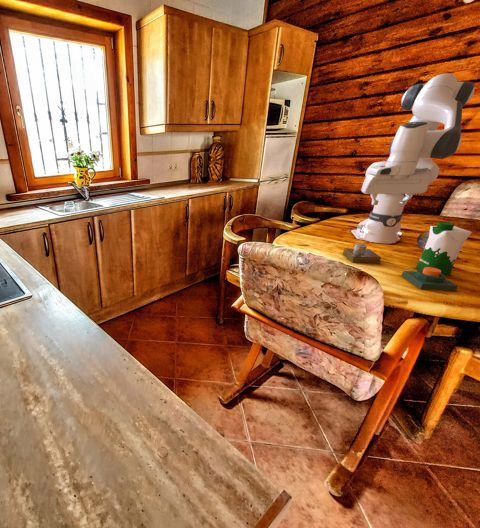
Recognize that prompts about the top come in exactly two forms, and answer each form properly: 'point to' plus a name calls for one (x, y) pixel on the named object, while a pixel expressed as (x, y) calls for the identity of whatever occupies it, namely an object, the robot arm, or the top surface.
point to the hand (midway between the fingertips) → (388, 204)
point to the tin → (423, 239)
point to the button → (431, 271)
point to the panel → (362, 256)
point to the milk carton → (443, 247)
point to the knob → (359, 249)
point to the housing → (429, 281)
